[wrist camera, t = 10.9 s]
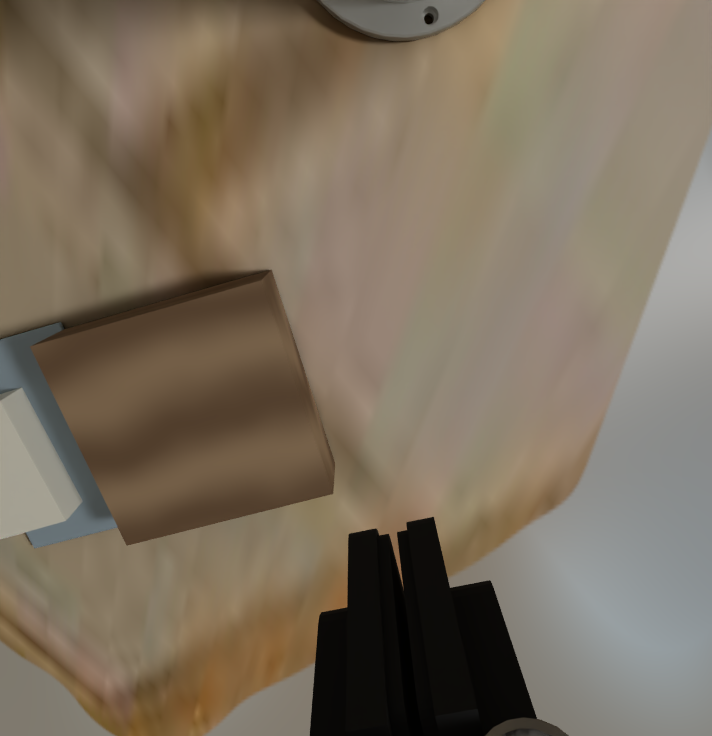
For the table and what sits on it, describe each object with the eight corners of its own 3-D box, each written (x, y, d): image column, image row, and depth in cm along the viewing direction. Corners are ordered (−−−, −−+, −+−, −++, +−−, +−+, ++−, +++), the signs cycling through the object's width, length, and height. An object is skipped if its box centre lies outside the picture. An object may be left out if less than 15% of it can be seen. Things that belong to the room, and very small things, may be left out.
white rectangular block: (0, 401, 34) (21, 387, 36) (-87, 427, 35) (-60, 412, 37) (66, 520, 37) (82, 501, 39) (-15, 543, 37) (6, 523, 40)
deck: (64, 329, 36) (29, 346, 32) (271, 269, 34) (261, 280, 31) (148, 511, 40) (126, 545, 36) (335, 463, 39) (333, 493, 35)
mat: (-67, 358, 36) (-70, 359, 36) (60, 322, 35) (58, 323, 35) (36, 545, 41) (34, 548, 40) (150, 516, 40) (149, 519, 40)
